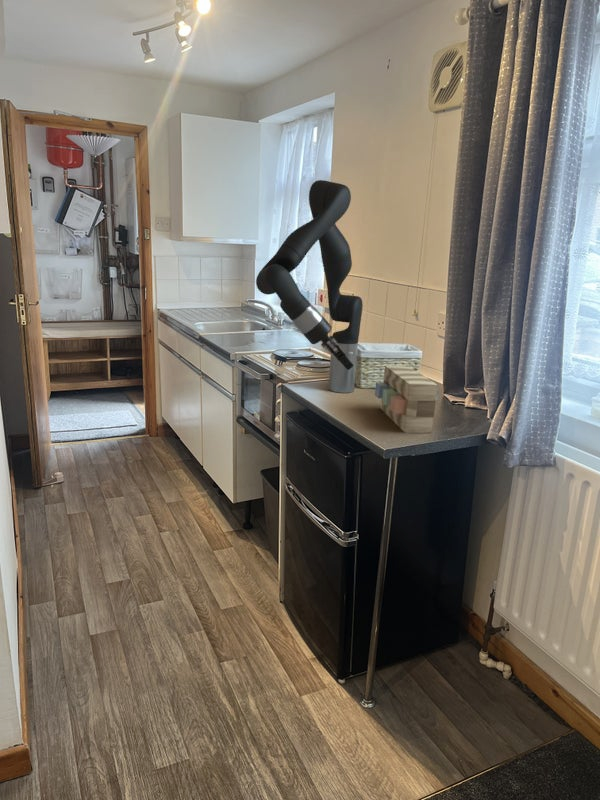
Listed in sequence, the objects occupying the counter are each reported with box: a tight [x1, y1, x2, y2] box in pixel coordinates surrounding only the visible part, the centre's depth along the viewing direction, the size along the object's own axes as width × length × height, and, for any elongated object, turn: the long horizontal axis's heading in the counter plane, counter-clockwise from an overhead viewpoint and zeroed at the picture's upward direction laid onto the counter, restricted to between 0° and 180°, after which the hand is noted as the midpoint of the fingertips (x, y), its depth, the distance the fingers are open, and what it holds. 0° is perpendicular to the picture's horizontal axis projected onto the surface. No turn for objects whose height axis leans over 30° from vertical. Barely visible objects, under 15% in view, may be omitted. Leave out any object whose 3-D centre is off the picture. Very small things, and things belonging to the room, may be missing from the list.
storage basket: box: [355, 341, 423, 390], centre depth 218 cm, size 24×16×15 cm
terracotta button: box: [390, 396, 406, 414], centre depth 166 cm, size 4×3×4 cm
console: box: [380, 366, 438, 434], centre depth 175 cm, size 24×8×14 cm, turn 8°
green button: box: [381, 389, 398, 406], centre depth 174 cm, size 4×3×4 cm
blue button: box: [374, 383, 389, 399], centre depth 182 cm, size 4×3×4 cm
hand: (350, 367), depth 170 cm, fingers closed
